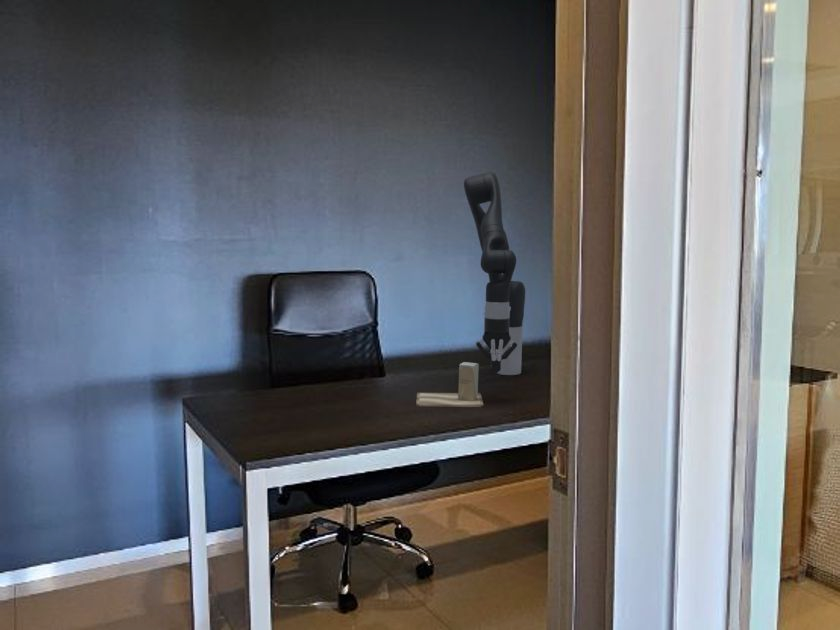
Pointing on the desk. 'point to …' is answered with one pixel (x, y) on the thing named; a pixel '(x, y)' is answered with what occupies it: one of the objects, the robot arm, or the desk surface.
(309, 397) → the desk surface
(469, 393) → the box
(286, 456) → the desk surface
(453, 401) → the mat
